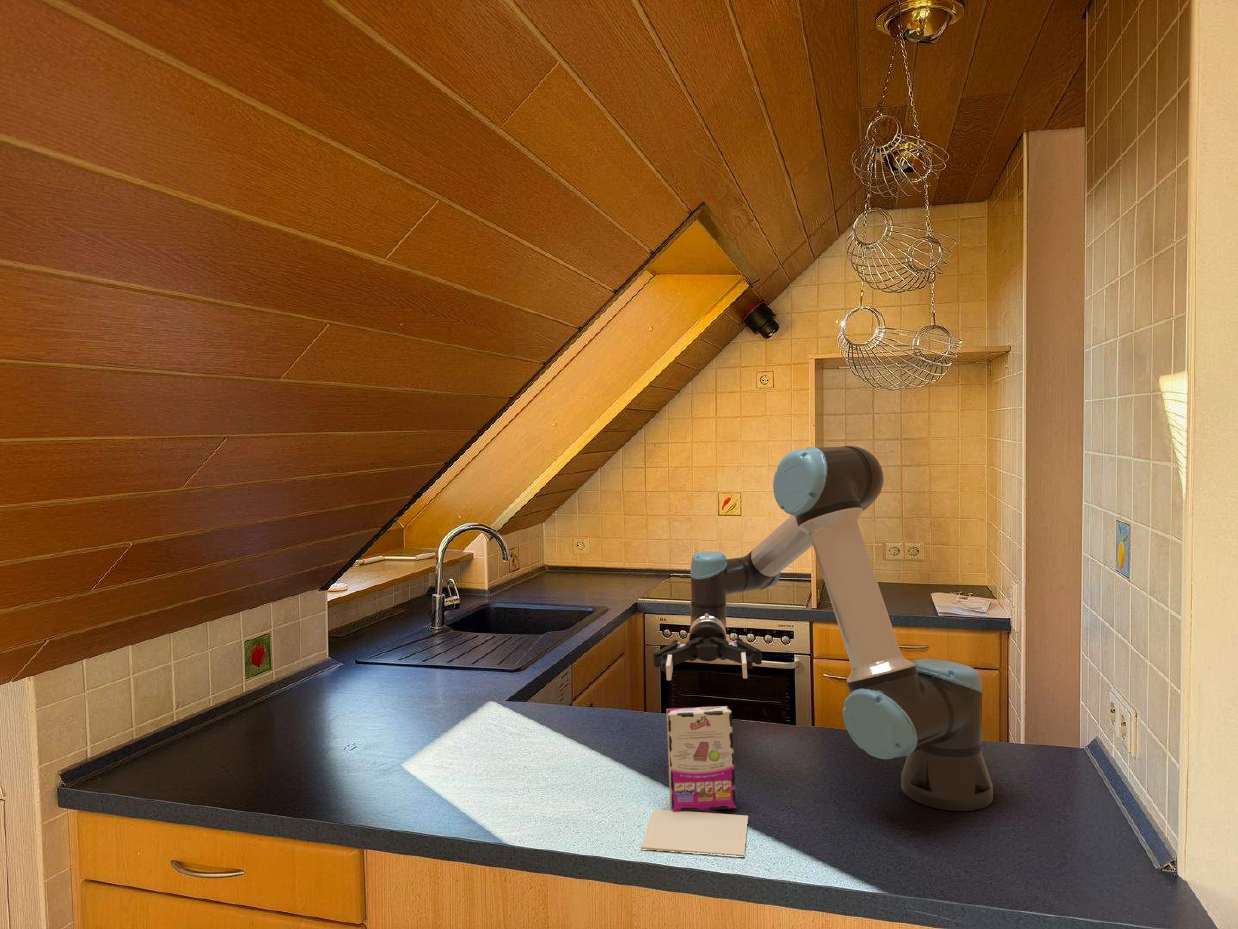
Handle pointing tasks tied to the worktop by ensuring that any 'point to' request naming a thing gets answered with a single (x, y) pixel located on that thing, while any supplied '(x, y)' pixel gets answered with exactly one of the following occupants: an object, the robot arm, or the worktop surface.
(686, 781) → the candy bar box
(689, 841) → the mat
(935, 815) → the worktop surface
